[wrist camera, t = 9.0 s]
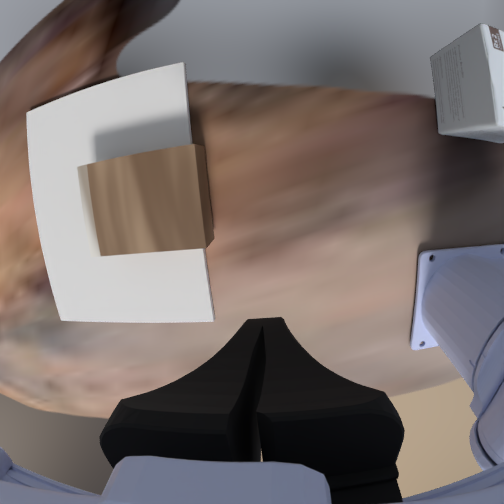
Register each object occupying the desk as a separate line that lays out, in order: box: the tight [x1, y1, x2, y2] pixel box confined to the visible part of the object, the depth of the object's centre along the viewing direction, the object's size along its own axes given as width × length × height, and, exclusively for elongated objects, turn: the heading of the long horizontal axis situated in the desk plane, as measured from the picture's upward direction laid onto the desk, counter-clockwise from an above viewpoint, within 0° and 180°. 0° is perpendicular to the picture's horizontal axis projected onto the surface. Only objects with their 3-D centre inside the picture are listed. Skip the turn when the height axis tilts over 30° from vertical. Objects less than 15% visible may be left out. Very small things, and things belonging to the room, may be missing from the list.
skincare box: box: [430, 23, 504, 143], centre depth 14 cm, size 6×6×7 cm
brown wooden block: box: [77, 144, 214, 257], centre depth 19 cm, size 2×6×8 cm
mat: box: [27, 62, 215, 323], centre depth 21 cm, size 14×18×1 cm
